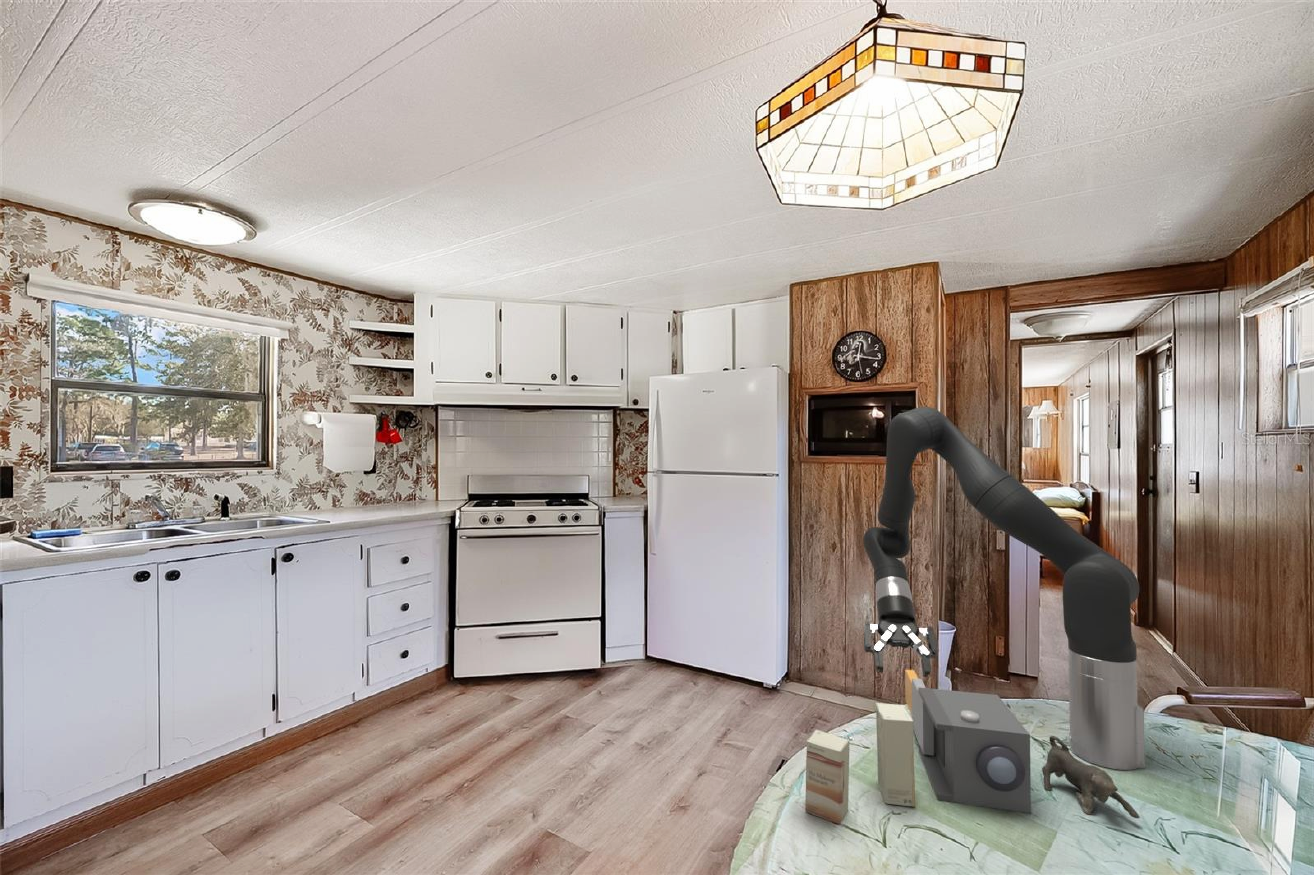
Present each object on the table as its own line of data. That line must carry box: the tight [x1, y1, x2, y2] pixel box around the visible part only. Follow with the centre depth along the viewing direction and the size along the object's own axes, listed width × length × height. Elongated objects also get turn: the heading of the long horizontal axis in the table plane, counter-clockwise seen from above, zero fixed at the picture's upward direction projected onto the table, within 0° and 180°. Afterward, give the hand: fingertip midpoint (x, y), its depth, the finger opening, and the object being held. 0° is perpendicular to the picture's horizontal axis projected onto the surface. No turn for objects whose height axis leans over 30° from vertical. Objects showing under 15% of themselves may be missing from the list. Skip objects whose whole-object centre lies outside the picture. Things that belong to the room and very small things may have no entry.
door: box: [904, 669, 934, 756], centre depth 103 cm, size 2×17×9 cm, turn 166°
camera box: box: [918, 687, 1032, 814], centre depth 89 cm, size 12×15×12 cm
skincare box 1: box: [804, 729, 851, 824], centre depth 82 cm, size 5×4×10 cm
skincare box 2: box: [875, 702, 916, 807], centre depth 86 cm, size 6×4×12 cm
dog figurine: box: [1041, 735, 1141, 819], centre depth 84 cm, size 12×6×7 cm, turn 10°
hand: (903, 673), depth 117 cm, fingers open, 8 cm apart
